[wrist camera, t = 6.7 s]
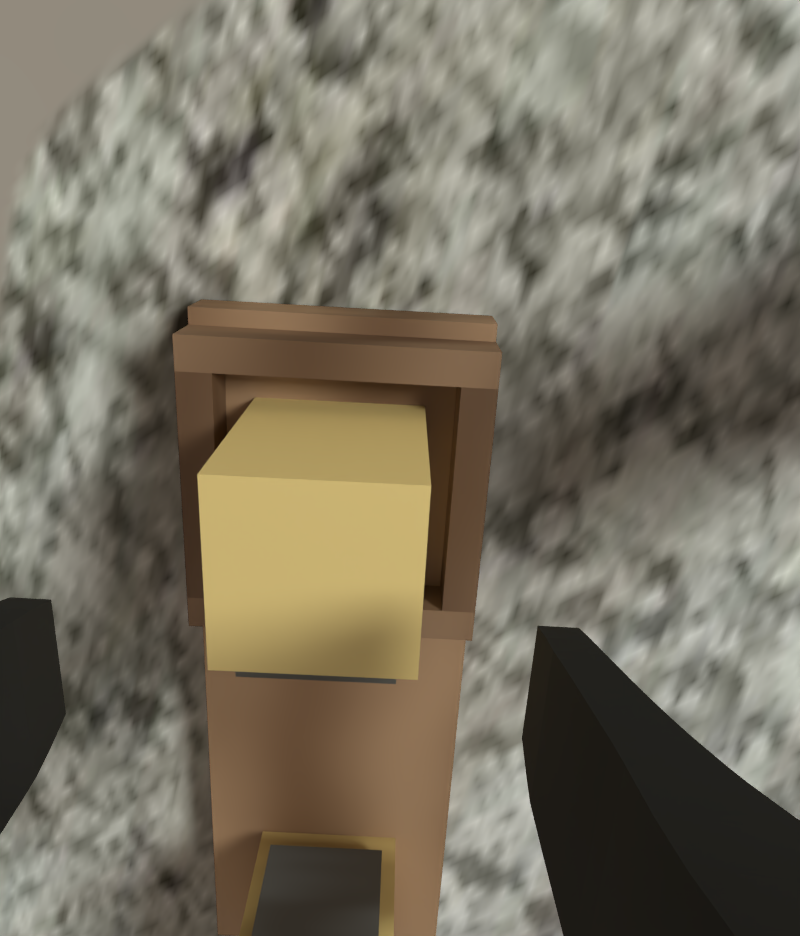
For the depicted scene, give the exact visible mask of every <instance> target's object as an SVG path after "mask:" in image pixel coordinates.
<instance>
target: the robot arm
mask: <svg viewBox="0 0 800 936" xmlns="http://www.w3.org/2000/svg"><path fill="white" fill-rule="evenodd" d="M65 714H66V712H65V704H64V696H63V689H62V681H61V673H60V665H59V658H58V650H57V642H56V635H55V627H54V619H53V611H52V604H51V600H46V599H27V598H7V599H5V600H2V601H0V834H1V832H2V831H3V829H4V828H5V826H6V824H7V823H8V821H9V820H10V818H11V817H12V815H13V813H14V812H15V810H16V809H17V807H18V805H19V804H20V802H21V801H22V799H23V798H24V796H25V794H26V793H27V791H28V790H29V788H30V786H31V785H32V783H33V781H34V780H35V778H36V777H37V774H38V772H39V770H40V768H41V766H42V764H43V762H44V760H45V758H46V756H47V754H48V752H49V750H50V748H51V746H52V743H53V741H54V739H55V737H56V735H57V732H58V730H59V728H60V726H61V723H62V721H63V719H64V717H65ZM522 741H523V750H524V758H525V767H526V775H527V782H528V790H529V797H530V804H531V808H532V812H533V816H534V820H535V824H536V828H537V832H538V836H539V840H540V844H541V849H542V853H543V857H544V860H545V864H546V868H547V872H548V876H549V880H550V884H551V888H552V892H553V896H554V900H555V904H556V908H557V912H558V916H559V919H560V923H561V927H562V931H563V935H564V936H800V821H799V820H798V819H796V818H795V817H794V816H792V815H791V814H790V813H788V812H787V811H785V810H784V809H783V808H781V807H780V806H779V805H777V804H776V803H775V802H773V801H772V800H770V799H769V798H768V797H766V796H765V795H764V794H762V793H761V792H760V791H758V790H757V789H755V788H754V787H753V786H751V785H750V784H749V783H747V782H746V781H745V780H743V779H742V778H741V777H740V776H738V775H737V774H736V773H735V772H733V771H732V770H731V769H730V768H728V767H727V766H726V765H725V764H723V763H722V762H721V761H720V760H719V759H717V758H716V757H715V756H714V755H713V754H712V753H710V752H709V751H708V750H707V749H706V748H704V747H703V746H702V745H701V744H700V743H699V742H697V741H696V740H695V739H694V738H693V737H691V736H690V735H689V734H688V733H687V732H686V731H685V730H684V729H682V728H681V727H680V726H679V725H678V724H677V723H676V722H675V721H674V720H672V719H671V718H670V717H669V716H668V715H667V714H666V713H665V712H664V711H663V710H662V709H661V708H659V707H658V706H657V705H656V704H655V703H654V702H653V701H652V700H651V699H650V698H649V697H648V696H647V695H646V694H645V693H644V692H643V691H642V690H641V689H640V688H639V687H638V686H637V685H636V684H635V683H634V682H633V681H632V680H630V679H629V678H628V676H627V675H626V674H625V673H624V672H623V671H622V670H621V669H620V668H619V667H618V666H617V665H616V664H615V663H614V662H613V661H612V660H611V659H610V658H609V657H608V656H607V655H606V654H605V653H604V652H603V651H602V650H601V649H600V648H599V647H598V646H597V645H596V644H595V643H594V642H593V641H592V640H591V639H590V638H589V637H588V636H587V635H586V634H585V633H584V632H583V631H581V630H580V629H579V628H568V627H549V626H538V628H537V635H536V642H535V649H534V656H533V663H532V671H531V678H530V685H529V692H528V699H527V706H526V713H525V720H524V728H523V735H522Z"/></svg>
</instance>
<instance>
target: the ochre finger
mask: <svg viewBox="0 0 800 936" xmlns="http://www.w3.org/2000/svg"><path fill="white" fill-rule="evenodd" d="M197 478H198V497H199V515H200V534H201V552H202V571H203V590H204V608H205V627H206V645H207V664H208V670H215V671H235V675H236V677H253V678H275V679H296V680H317V681H339V682H360V683H381V684H396V679H407V680H418V670H419V656H420V641H421V627H422V612H423V598H424V583H425V569H426V554H427V540H428V525H429V511H430V496H431V477H430V464H429V452H428V439H427V426H426V414H425V406H417V405H396V404H376V403H356V402H336V401H316V400H296V399H276V398H256V397H255V398H254V399H253V401H252V402H251V403H250V405H249V406H248V407H247V409H246V410H245V411H244V413H243V414H242V415H241V417H240V418H239V419H238V421H237V422H236V423H235V425H234V426H233V427H232V429H231V430H230V431H229V433H228V434H227V435H226V437H225V438H224V439H223V441H222V442H221V443H220V445H219V446H218V447H217V449H216V450H215V451H214V453H213V454H212V455H211V457H210V458H209V459H208V461H207V462H206V463H205V465H204V466H203V467H202V469H201V470H200V471H199V473H198V474H197Z"/></svg>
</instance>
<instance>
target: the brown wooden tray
mask: <svg viewBox="0 0 800 936" xmlns="http://www.w3.org/2000/svg"><path fill="white" fill-rule="evenodd" d="M497 325H498V324H497V323H496V321H495V320H494V318H493V317H492V316H484V315H466V314H449V313H431V312H413V311H396V310H378V309H361V308H343V307H325V306H308V305H290V304H272V303H255V302H237V301H219V300H200V301H198V302H196V303H194V304H192V305H190V306H188V325H187V326H185V327H183V328H182V329H180V330H178V331H177V332H175V333H173V334H172V338H173V355H174V373H175V391H176V408H177V426H178V444H179V462H180V479H181V497H182V515H183V532H184V550H185V568H186V585H187V603H188V621H189V626H202V627H203V637H204V658H205V679H206V699H207V720H208V741H209V761H210V782H211V802H212V823H213V844H214V864H215V885H216V906H217V926H218V935H234V936H436V926H437V916H438V907H439V897H440V887H441V877H442V867H443V857H444V847H445V838H446V828H447V818H448V808H449V798H450V788H451V778H452V769H453V759H454V749H455V739H456V729H457V719H458V709H459V700H460V690H461V680H462V670H463V660H464V650H465V640H469V641H472V635H473V625H474V616H475V606H476V597H477V587H478V578H479V568H480V559H481V549H482V540H483V530H484V521H485V511H486V502H487V492H488V483H489V473H490V464H491V454H492V445H493V435H494V426H495V416H496V407H497V397H498V388H499V378H500V369H501V359H502V352H501V350H500V348H499V346H498V345H497V343H496V335H497ZM255 397H256V398H276V399H296V400H316V401H336V402H356V403H376V404H396V405H417V406H425V414H426V426H427V439H428V452H429V464H430V477H431V496H430V511H429V525H428V540H427V554H426V569H425V583H424V598H423V612H422V627H421V641H420V656H419V670H418V680H407V679H396V684H381V683H360V682H339V681H317V680H296V679H275V678H253V677H236V675H235V671H215V670H208V664H207V645H206V627H205V608H204V590H203V571H202V552H201V534H200V515H199V497H198V478H197V474H198V473H199V471H200V470H201V469H202V467H203V466H204V465H205V463H206V462H207V461H208V459H209V458H210V457H211V455H212V454H213V453H214V451H215V450H216V449H217V447H218V446H219V445H220V443H221V442H222V441H223V439H224V438H225V437H226V435H227V434H228V433H229V431H230V430H231V429H232V427H233V426H234V425H235V423H236V422H237V421H238V419H239V418H240V417H241V415H242V414H243V413H244V411H245V410H246V409H247V407H248V406H249V405H250V403H251V402H252V401H253V399H254V398H255Z"/></svg>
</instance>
